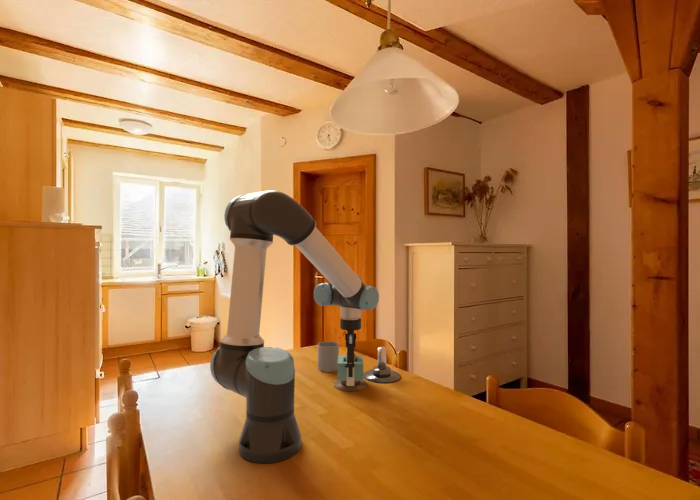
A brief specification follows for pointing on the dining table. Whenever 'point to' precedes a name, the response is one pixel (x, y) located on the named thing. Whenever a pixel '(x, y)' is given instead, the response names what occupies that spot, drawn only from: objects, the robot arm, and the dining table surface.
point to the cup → (328, 356)
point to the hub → (381, 370)
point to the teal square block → (343, 370)
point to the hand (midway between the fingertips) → (350, 380)
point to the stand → (357, 386)
